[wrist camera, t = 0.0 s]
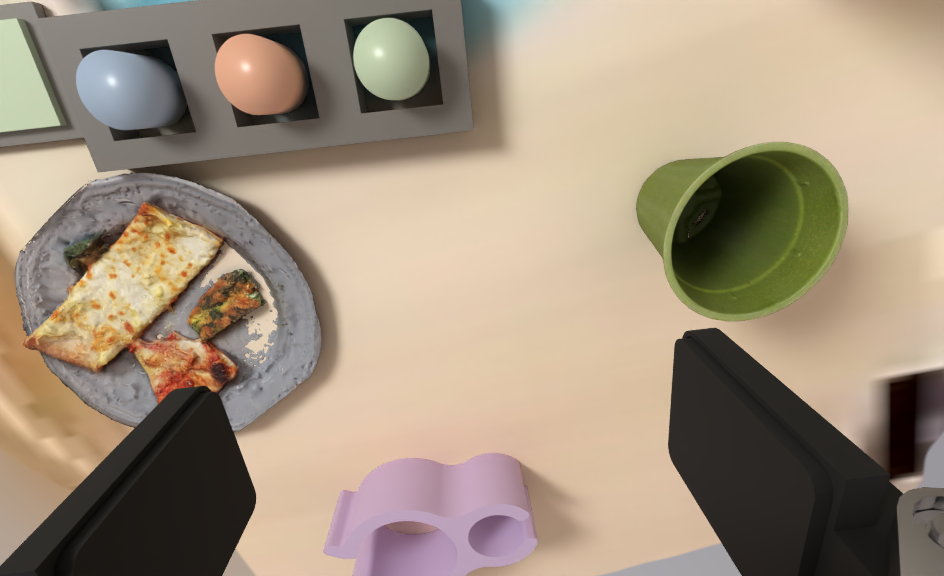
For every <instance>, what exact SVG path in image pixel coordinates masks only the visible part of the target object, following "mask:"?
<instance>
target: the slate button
mask: <svg viewBox="0 0 944 576" xmlns="http://www.w3.org/2000/svg"><path fill="white" fill-rule="evenodd" d="M76 86H77V90H78V93H79V96H80V98H81V101H82V102H83V104H84V106H85V107H86V108H87V110H88V111H89V112H90V113H91V114H92V115H93V116H94V117H95V118H96V119H98V120H99V121H100V122H102V123H103V124H105V125H107V126H109V127H112V128H115V129H120V130H134V129H146V128H158V127H167V126H170V125H173V124H175V123H176V122H178V121H179V120H180V119H181V118H182V116H183V115H184V112H185V110H186V106H187V101H186V97H185V94H184V91H183V88H182V85H181V81H180V78H179V75H178V74H177V73H176V71H175V70H174V69H173V68H172V67H170V66H169V65H168V64H167V63H165V62H164V61H162V60H160V59H157V58H155V57H151V56H145V55H138V54H132V53H125V52H119V51H112V50H98V51H94V52H92V53H90V54H88V55H87V56H86V57H84V58H83V60H82V61H81V62H80V64H79V66H78V69H77V73H76Z"/></svg>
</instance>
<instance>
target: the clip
mask: <svg viewBox="0 0 944 576" xmlns="http://www.w3.org/2000/svg"><path fill="white" fill-rule="evenodd" d="M400 521H415V522H422V523H426V524H429V525H432V526H434V527H436V528H438V529H436V530H434V531H431V532H428V533H424V534H403V533H398V532H395V531H392V530H390V529H388V528H386V527H385V526H383V525H386V524H389V523H393V522H400ZM537 544H538V540H537V535H536V530H535V525H534V520H533V514H532V509H531V504H530V499H529V494H528V489H527V487H526V486H525V485H523V479H522V474H521V468H520V463H519V461H518V460H516V459H515V458H513V457H511V456H508V455H505V454H500V453H487V454H482V455H478V456H475V457H473V458H471V459H469V460H468V461H466V462H464V463H461V464H458V465H444V464H440V463H437V462H435V461H431V460H427V459H420V458H405V459H398V460H394V461H391V462H388V463H385V464H383V465H381V466H379V467H377V468H376V469H374V470H373V471H372V472H370V473H369V474H368V475H367V476H366V477H365V479H364V480H363V481H362V483H361V485H360V487H359V489H358V491H356V492H350V491H347V490H343V491H341V492H340V495H339V498H338V502H337V505H336V509H335V512H334V516H333V519H332V523H331V526H330V530H329V533H328V537H327V540H326V543H325V547H324V551H323V552H324V553H325V554H326V555H329V556H333V557H337V558H342V559H354V558H356V561H355V566H354V571H353V575H352V576H466V575H467V574H468V573H469V572H471V571H473V570H475V569H478V568H482V567H501V566H507V565H511V564H514V563H516V562H518V561H520V560H522V559H524V558H525V557H527V556H528V555H529V554H530V553H531V552H532V551H533V550H534V549H535V547H536V545H537Z"/></svg>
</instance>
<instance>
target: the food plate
mask: <svg viewBox="0 0 944 576" xmlns="http://www.w3.org/2000/svg"><path fill="white" fill-rule="evenodd" d="M191 182H192V181H191ZM191 182H189V181H187V180H183V179H180V178H177V177H170V176H168V175H167V176H166V175H162V174H158V175H157V174H155V173H151V174H149V173H141V174H140V173H131V174H123V175H119V176H115V177H110V178H107V179H98V180H95V181H93V182H91V183H90V184H87V187H85V188H84V189H83V190H81V189H82V187H81V188H80V189H79V190H81V191H82V192H81V191H79V190H78V191H77V192H78V193H77V192H76V193H74V194H73V195H72V196H71V197H70V198H69V199H68V200H67V201H66V202H65V203H64V204H63V205H62V206H61V207H60V208H59V209H58V210H57V211H56V212H55V213H54V215H53V216H52V217H51V218H49V220H48V221H47V222H46V223H45V224H44V225H43V226H42V228H41V229H40V230H39V231H38V232H37V233H36V234H38V235H36V234H35V235H34V236H35V237H34V236H33V237H32V240H31V241H32V242H30V244H28V243H29V242H28V243H27V244H26V248H25V251H22V250H21V251H20V254H19V258H18V260H17V263H16V264H17V265H16V270H15V284H16V290H17V292H16V293H17V297H18V300H19V305H20V307H21V310H22V313H21V315H22V316H23V321H24V323H23V328H24V329H23V330H25V331H26V333H27V335H26V336H28V337H27V338H25V341H24V343H23V345H24V346H25V347H26V348H28V349H31V350H38V351H40V353H41V355H42V356H43V359H44V362H45V363H46V365H47V367H48V368H49V369H50V370H51V372H52V373H53V374H55V375H56V376H57V377H59V379H60V380H61V382H62V383H63V384H64V385H66V387H69V388H70V389H71V390H72V391H73V392H74V393H75V394H76V395H77V396H78V397H79V398H80V399H81V400H82V401H84V403H85V404H87V405H88V406H90V407H91V408H92V409H95V410H97V411H98V412H100V413H101V414H104V415H105V416H107V417H109V418H110V419H111V420H114V421H117V422H119V423H121V424H124V425H127V426H130V427H134V428H135V427H136V426H137V425H138V424H139V423H140V422H141V421H142V420H143V419H144V418H145V417H146V416H147V415H148V414H149V413H150V412H151V411H152V410H153V409H154V408H155V407H156V406H157V405H158V404H159V403H160V402H161V401H162V400H163V399H164V398H165V397H166V396H167V395H168V394H169V393H170V392H171V391H172V390H174V389H179V388H188V387H196V386H207V387H208V388H209V389H210V390H211V391H212V392H217V393H218V394H219V396H220V397H221V400H222V403H223V405H224V408H225V411H226V413H227V416H228V419H229V421H230V424H231V427H232V430H233V432H236V431H239V430H242V429H243V428H244V427H246V426H247V425H248V424H250V423H252V422H253V421H254V420H255V419H257V418H258V417H259V416H260V415H262V414H263V413H264V412H266V411H267V410H268V409H269V408H271V407H272V406H274V405H275V404H276V403H277V402H279V400H281V399H282V398H284V397H286V396H287V395H288V394H289V393H290V392H291V391H292V390H294V389H295V388H296V385H298V384H301V382H302V381H303V382H304V380H305V379H308V378H309V377H310V376H311V375H312V372H313V370H314V368H315V367H316V364H317V360H318V358H319V355H320V350H321V333H322V331H321V329H320V323H319V318H318V317H317V315H316V312H315V306H314V303H313V302H314V301H313V298H312V297H313V296H312V293H311V291H310V288H309V286H308V283H307V281H306V280H305V279H304V277H303V275H302V272H301V271H300V270H299V268H298V266H297V264H296V263H295V262H294V260H293V259H292V257H291V256H290V255H289V253H288V252H287V251H286V250H285V249H284V248H283V247H282V245H281V244H280V243H279V242H278V241H277V240H276V238H275V237H274V236H273V237H272V235H271V234H269V232H268V231H267V230H266V229H265V228H264V226H262V225H261V223H260V222H258V221H257V220H256V219H255V218H254V217H253V216H252V215H250V214H249V213H248V212H247V210H246V209H244V208H243V207H242V206H241V205H239V203H237V202H236V201H235V200H234V199H231V198H230V197H228V196H226V195H224V194H221V193H218V192H217V191H214V190H212V189H206V188H205V187H204V186H202V185H198V184H196V183H191ZM85 185H86V184H85ZM75 194H76V195H75ZM74 195H75V196H74ZM73 196H74V197H73ZM72 197H73V198H72ZM71 198H72V199H71ZM69 200H70V201H69ZM68 201H69V202H68ZM67 202H68V203H67ZM66 203H67V204H66ZM65 204H66V205H65ZM64 205H65V206H64ZM63 206H64V207H63ZM62 207H63V208H62ZM224 241H226V242H227V244H228V245H229V246H230V247H231V248H233V249H235V251H236V252H237V253H238V254H239V255H240V256H241V257H242V258H244V259H245V260H246V261H247V263H249V264H250V265H251V266H252V267H253V268H254V269H255V271H256V272H258V273H259V274H260V275H261V276H262V277H263V278H264V280H265V282H266V284H267V286H268V287H269V289H270V290H271V292H270V294H271V296H272V297H273V298H274V299H275V301H274V302H273V304H274V306H273V307H275V308H276V309H277V311H278V314H277V315H278V317H277V318H276V321H275V322H274V320H273V322H274V323H275V324H276V325H277V326H278V327H277V331H275V330H273V331H272V332H271V335H269V336H268V337H269V339H268V343H272V342H274V345H273V346H270V345H266V344H264V346H265V347H266V346H268V347H269V348H268V351H267V353H266V354H265V353H264V348H263V351H261V350H260V351H259V352H257V353H258V354H252V352H253V351H252V350H250V349H249V348H246V347H245V345H247V344H248V343H249V342H250V341H251V340H255V341H257V340H258V339H259V338H260V337H262V336H263V335H262V334H256V333H257V331H256V330H257V329H255V333H252V334H251V335H249V334H248V328H249V327H245V325H246V324H248V320H247V319H242V317H243V316H246V314H248V313H250V312H251V311H253V310H255V309H257V308H258V307H259V306H261V305H262V306H263V305H264V303H266V301H265V300H263V299H262V296H261V295H260V293H259V291H258V289H259V286H260V285H259V284H258V283H257V282H256V280H255V279H254V277H253V276H252V275H247V274H248V273H247V272H246V271H245V270H243V269H238V270H235V271H234V272H231V273H226V274H223V275H222V276H221V277H220V278H218V282H216V283H215V284H213V281H212V280H210V281H209V284H211V287H210V286H209V285H206V286H205V289H204V288H203V287H201V288H200V286H201V284H200V282H202V280H203V278H204V276H205V275H206V274H207V271H209V270H211V269H212V268H213V265H211V264H212V263H214V262H215V261H216V259H217V257H218V255H219V254H222V251H221V250H219V249H220V247H221V246H223V244H224ZM231 253H232V252H231ZM193 288H195V289H193ZM270 312H272V310H270ZM251 318H253V316H251ZM251 320H252V319H251ZM266 320H267V319H266ZM253 323H254V321H253ZM257 325H260V324H259V323H257ZM259 330H260V329H259ZM158 334H162V335H163V336H164V337H161V339H158V338H157V335H158ZM254 338H255V339H254ZM242 349H243V351H242ZM246 353H248V354H249V353H251V354H250V358H246V357H245V354H246ZM253 353H254V352H253ZM261 355H262V357H261V358H259V356H261ZM256 356H258V357H257V359H252V358H251V357H254V358H255V357H256ZM265 356H266V361H264V362H263V363H262V364H260V363H259V360H263V359H264V357H265ZM244 360H246V361H244ZM250 362H252V363H250ZM245 364H246V365H247V366H246V367H244V365H245ZM254 365H256V366H254ZM260 365H261V366H260ZM258 367H260V368H258ZM252 368H254V369H253V370H252ZM244 375H245V377H244V378H242V377H243V376H244ZM259 378H260V380H259ZM303 382H302V383H303Z"/></svg>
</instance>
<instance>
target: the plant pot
mask: <svg viewBox="0 0 944 576" xmlns="http://www.w3.org/2000/svg"><path fill="white" fill-rule="evenodd" d="M709 187H710V188H709ZM704 209H706V210H707V213H706V215H705V217H704V218H703V220H702V221H701V222H700V223H699V224H697V225H695V220H696V219H697V218H698V217H699V216H700V214H701V213H702V211H703V210H704ZM636 210H637V217H638V221H639V224H640V226H641V228H642V230H643V231H644V233H645V234H646V235H647V237H648V238H649V240H650V241H651V242H652V244H653V245H654V246H655V248H656V249H657V251H658V252H659V254H660V255H661V256H662V258H663V263H664V269H665V273H666V276H667V279H668V282H669V284H670V286H671V288H672V290H673V291H674V293H675V294H676V296H677V297H678V298H679V299H680V300H681V301H682V302H683V303H684V304H685V305H686V306H687V307H689V308H690V309H691V310H693V311H695V312H696V313H698V314H700V315H702V316H705V317H708V318H711V319H716V320H722V321H744V320H751V319H755V318H760V317H763V316H766V315H769V314H771V313H774V312H776V311H778V310H780V309H783V308H784V307H786V306H788V305H790V304H792V303H793V302H795V301H796V300H797V299H799V298H800V297H801V296H803V295H804V294H805V293H806V292H807V291H808V290H809V289H811V288H812V287H813V286H814V285H815V284H816V283H817V282H818V281H819V280H820V279H821V278H822V276H823V275H824V274H825V273H826V271H827V270H828V269H829V267H830V266H831V264H832V263H833V261H834V259H835V258H836V256H837V254H838V252H839V250H840V247H841V244H842V241H843V239H844V236H845V233H846V229H847V224H848V197H847V192H846V188H845V186H844V183H843V181H842V179H841V177H840V175H839V173H838V172H837V170H836V168H835V167H834V166H833V165H832V164H831V162H830V161H828V160H827V159H826V158H825V157H824V156H822V155H821V154H819V153H818V152H816V151H814V150H813V149H811V148H808V147H806V146H803V145H799V144H794V143H789V142H768V143H762V144H757V145H753V146H749V147H746V148H743V149H741V150H738V151H736V152H733V153H731V154H729V155H727V156H725V157H715V158H700V159H685V160H678V161H674V162H671V163H669V164H666V165H664V166H662V167H660V168H659V169H657V170H656V171H655V172H654V173H653V174H652V175H651V176H650V177H649V178H648V179H647V180H646V182H645V183H644V184H643V186H642V188H641V190H640V193H639V195H638V199H637V205H636ZM687 226H688V230H689V237H688V232H687Z"/></svg>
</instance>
